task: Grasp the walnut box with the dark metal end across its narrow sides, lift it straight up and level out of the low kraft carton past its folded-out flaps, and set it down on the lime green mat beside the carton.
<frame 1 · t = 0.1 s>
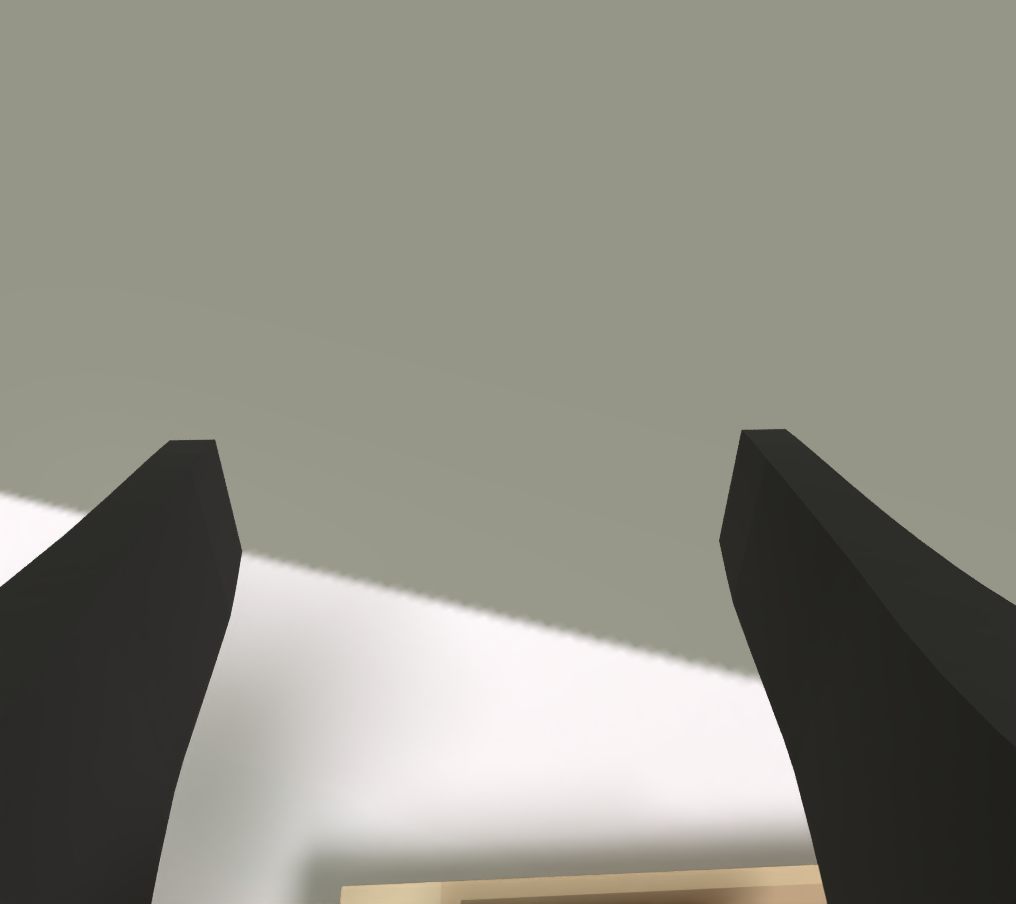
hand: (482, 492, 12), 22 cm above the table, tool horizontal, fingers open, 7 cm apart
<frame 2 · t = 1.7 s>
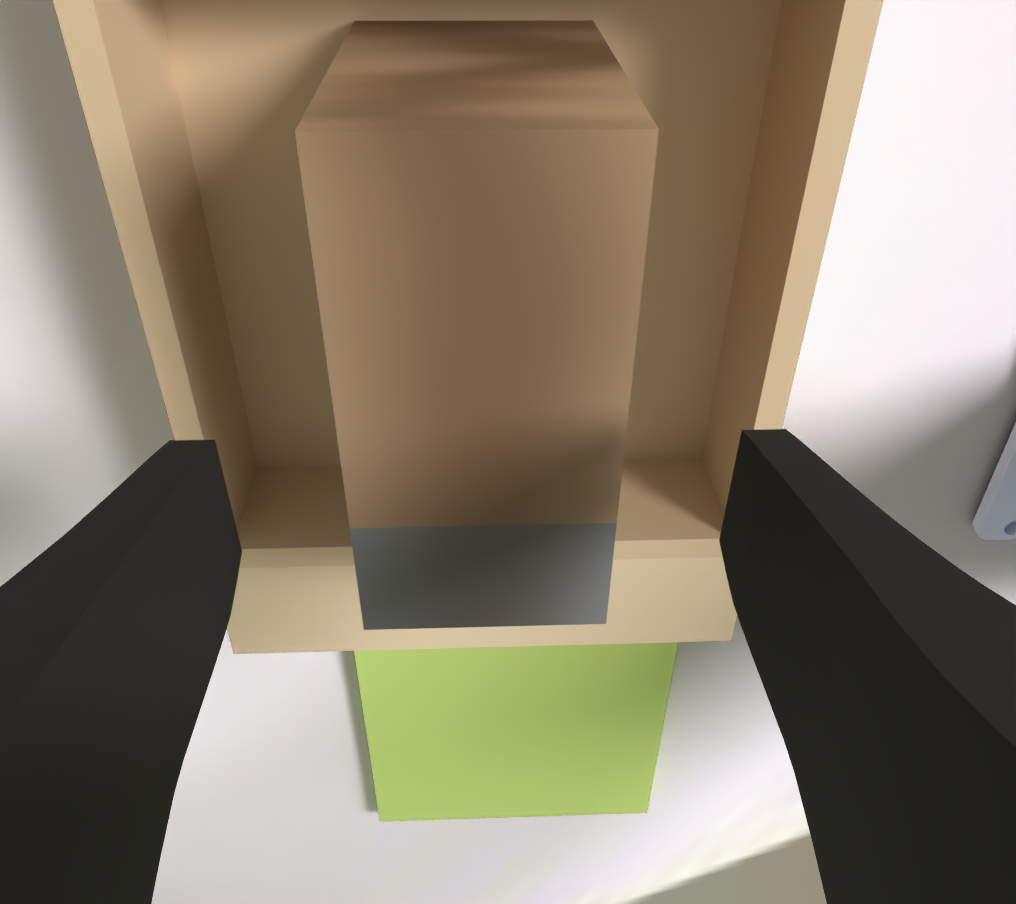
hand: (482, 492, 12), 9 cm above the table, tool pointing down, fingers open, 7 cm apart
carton: (477, 238, 19), on the table
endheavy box: (478, 245, 19), resting on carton
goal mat: (515, 702, 29), on the table
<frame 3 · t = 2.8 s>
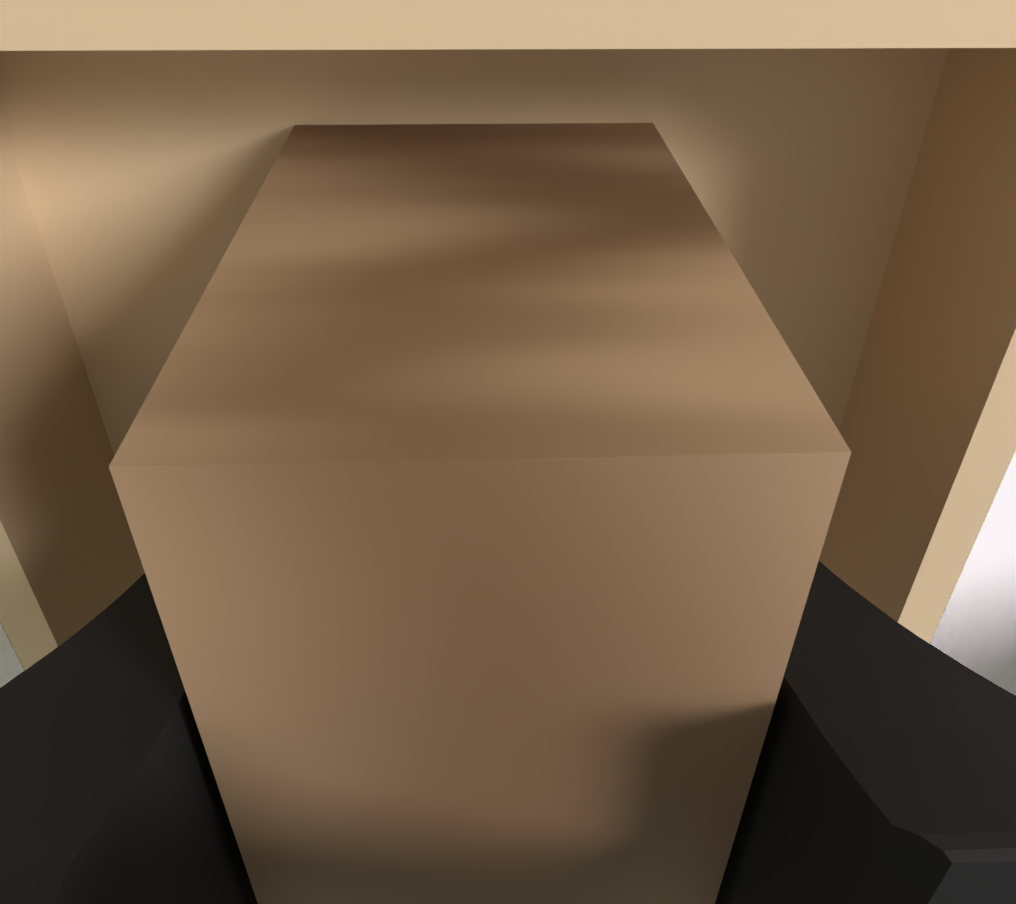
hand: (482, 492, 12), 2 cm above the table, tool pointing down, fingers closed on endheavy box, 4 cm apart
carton: (479, 405, 14), on the table
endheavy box: (480, 419, 14), resting on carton, touching gripper
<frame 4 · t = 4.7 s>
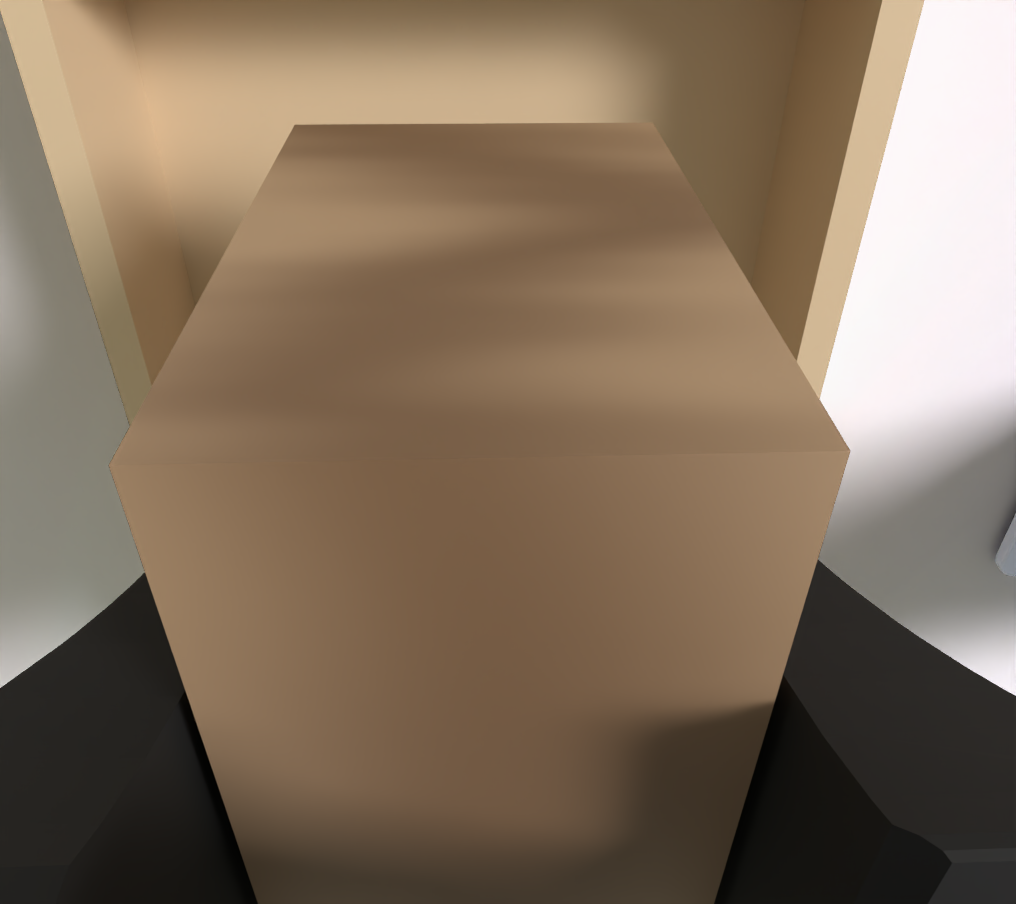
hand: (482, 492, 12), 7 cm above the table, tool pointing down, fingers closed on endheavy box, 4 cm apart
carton: (474, 266, 18), on the table
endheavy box: (479, 418, 14), point 6 cm above the table, touching gripper
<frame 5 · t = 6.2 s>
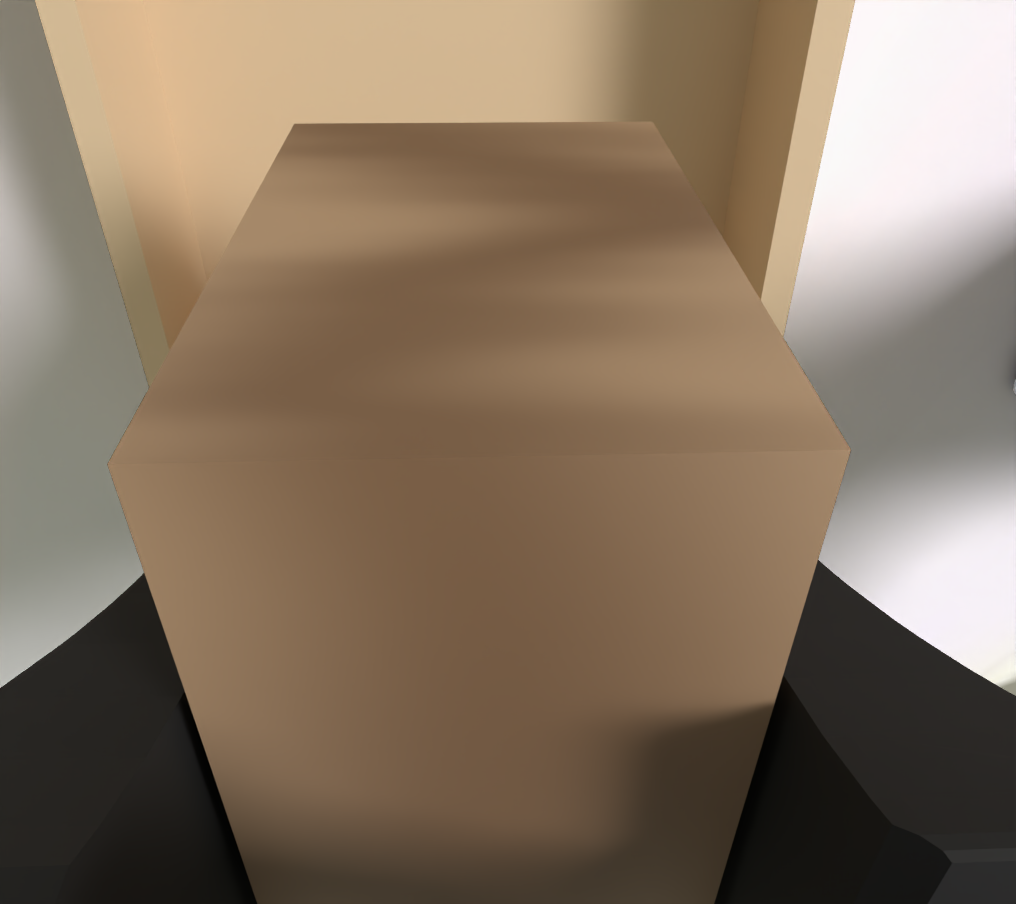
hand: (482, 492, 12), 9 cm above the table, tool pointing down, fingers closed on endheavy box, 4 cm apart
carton: (456, 22, 17), on the table
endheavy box: (479, 418, 14), point 7 cm above the table, touching gripper
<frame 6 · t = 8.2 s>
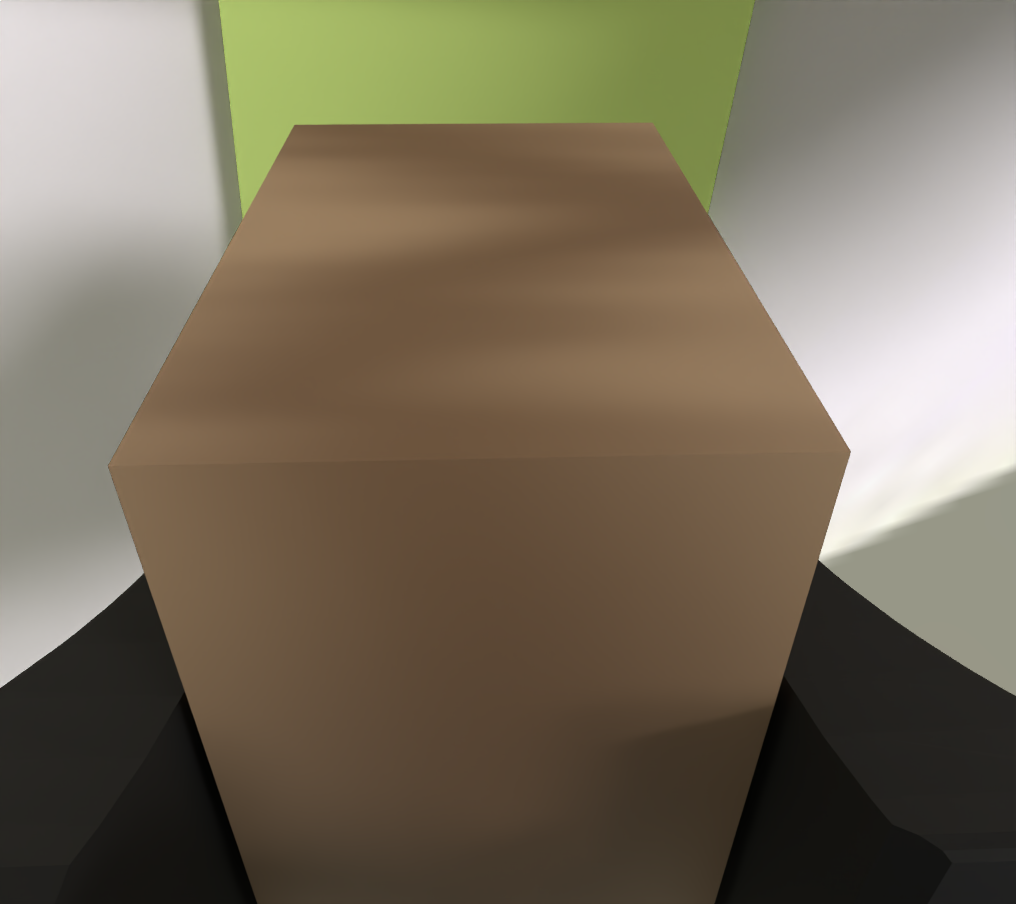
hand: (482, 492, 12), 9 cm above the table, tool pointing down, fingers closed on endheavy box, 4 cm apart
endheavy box: (479, 419, 14), point 7 cm above the table, touching gripper
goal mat: (475, 234, 19), on the table
when the fingers open (4 cm above the table, at t = 9.9 s): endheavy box drops 1 cm, resting on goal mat.
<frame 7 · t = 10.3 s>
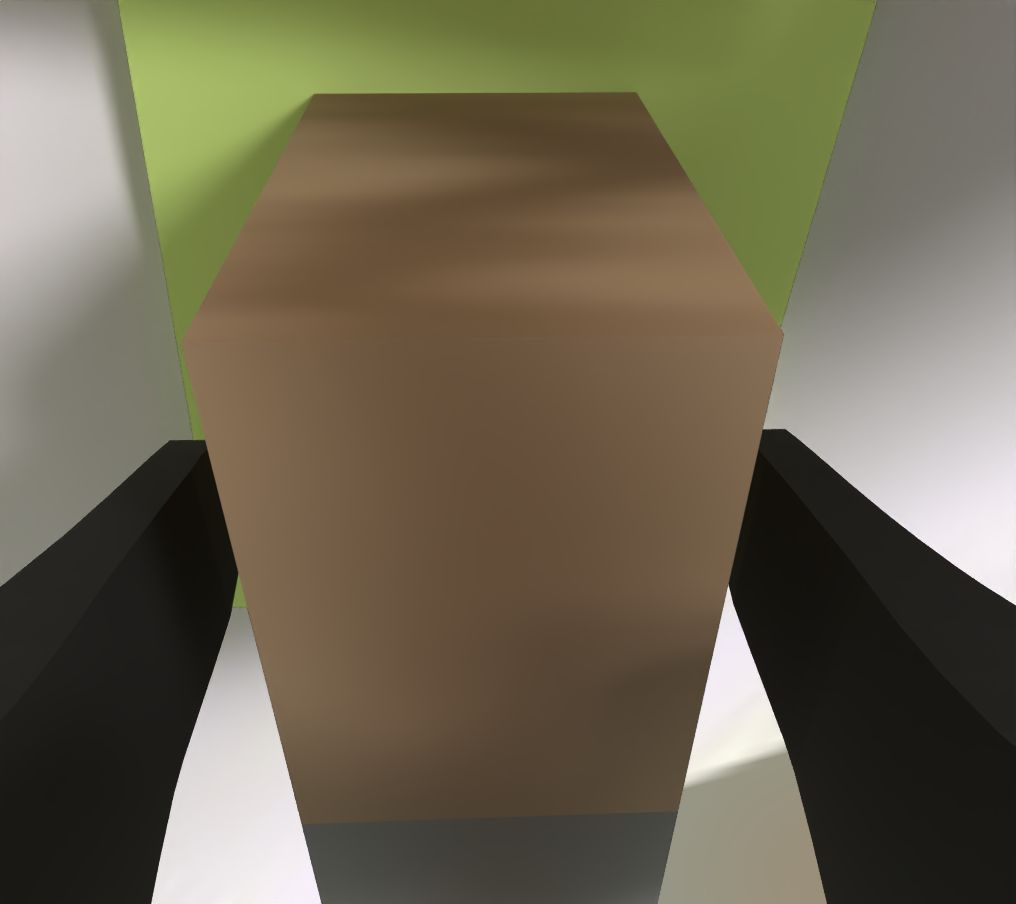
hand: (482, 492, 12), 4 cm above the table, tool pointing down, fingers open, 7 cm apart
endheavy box: (480, 369, 15), point 1 cm above the table, touching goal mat
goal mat: (478, 352, 15), on the table
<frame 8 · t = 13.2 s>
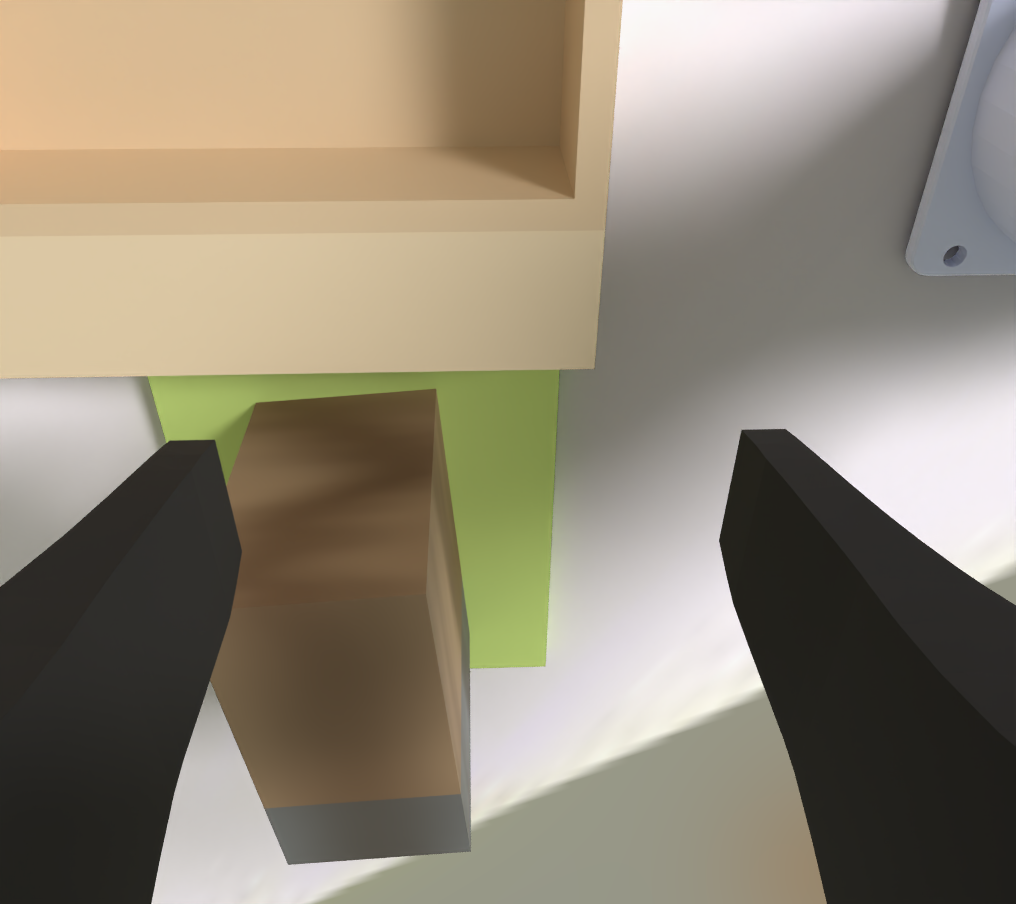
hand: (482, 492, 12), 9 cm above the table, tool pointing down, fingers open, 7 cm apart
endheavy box: (374, 530, 24), point 1 cm above the table, touching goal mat
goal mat: (375, 516, 25), on the table
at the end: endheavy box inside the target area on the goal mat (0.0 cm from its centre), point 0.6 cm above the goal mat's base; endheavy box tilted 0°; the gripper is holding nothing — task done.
